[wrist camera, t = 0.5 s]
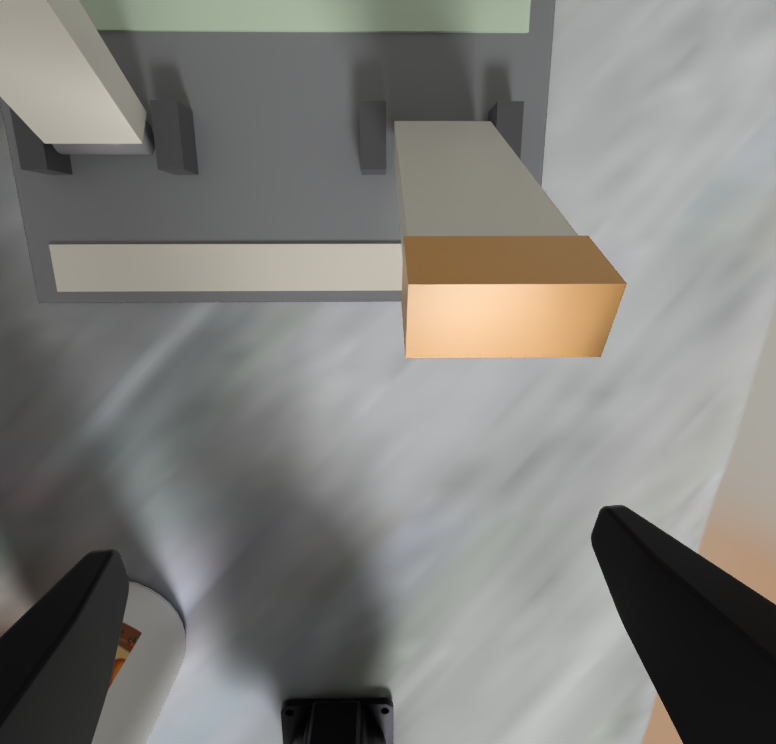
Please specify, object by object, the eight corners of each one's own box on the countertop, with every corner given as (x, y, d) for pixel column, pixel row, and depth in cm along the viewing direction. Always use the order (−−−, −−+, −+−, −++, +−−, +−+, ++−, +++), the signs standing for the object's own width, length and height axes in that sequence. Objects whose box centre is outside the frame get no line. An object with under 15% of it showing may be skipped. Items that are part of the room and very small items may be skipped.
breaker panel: (527, 298, 23) (544, 305, 20) (50, 300, 22) (12, 307, 20) (551, -31, 19) (574, -69, 17) (-12, -35, 19) (-66, -74, 17)
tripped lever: (483, 155, 20) (600, 356, 9) (390, 155, 20) (405, 358, 9) (488, 111, 19) (626, 283, 8) (391, 111, 19) (408, 284, 8)
